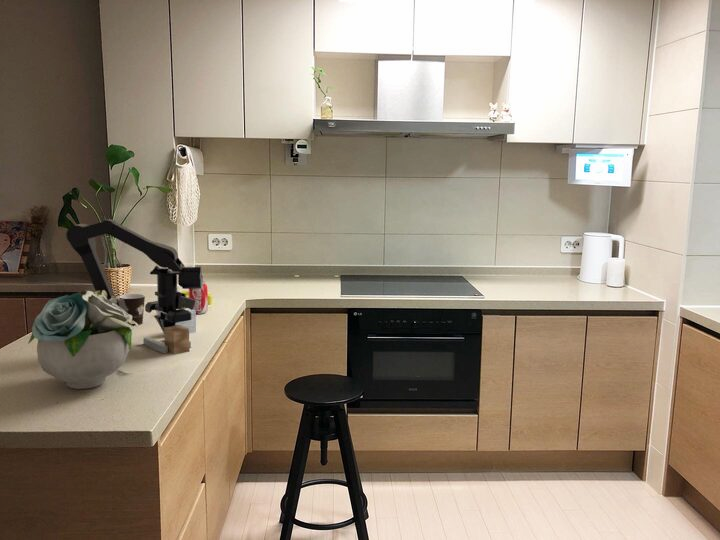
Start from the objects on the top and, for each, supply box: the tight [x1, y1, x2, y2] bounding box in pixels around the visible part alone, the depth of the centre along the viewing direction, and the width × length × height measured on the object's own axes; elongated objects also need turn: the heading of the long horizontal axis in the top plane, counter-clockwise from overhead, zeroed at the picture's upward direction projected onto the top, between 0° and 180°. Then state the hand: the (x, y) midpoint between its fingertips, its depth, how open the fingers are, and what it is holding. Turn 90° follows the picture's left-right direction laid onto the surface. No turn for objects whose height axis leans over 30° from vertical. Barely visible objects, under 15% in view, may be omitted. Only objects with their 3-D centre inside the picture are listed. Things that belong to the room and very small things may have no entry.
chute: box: [142, 336, 193, 354], centre depth 188 cm, size 10×13×3 cm
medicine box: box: [175, 308, 197, 334], centre depth 203 cm, size 8×4×9 cm, turn 141°
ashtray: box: [177, 290, 213, 305], centre depth 254 cm, size 16×21×5 cm
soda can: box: [188, 280, 209, 314], centre depth 236 cm, size 7×7×12 cm
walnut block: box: [164, 325, 190, 355], centre depth 183 cm, size 5×6×7 cm
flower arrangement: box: [28, 290, 139, 390], centre depth 154 cm, size 25×25×24 cm
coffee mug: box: [118, 293, 146, 327], centre depth 216 cm, size 12×9×10 cm
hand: (168, 338), depth 187 cm, fingers closed
